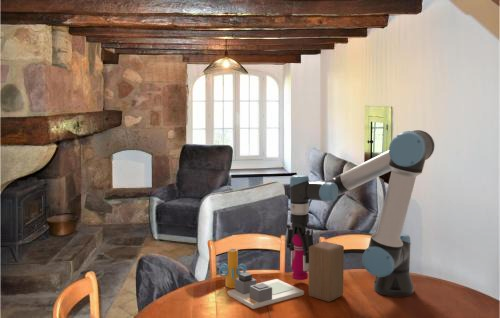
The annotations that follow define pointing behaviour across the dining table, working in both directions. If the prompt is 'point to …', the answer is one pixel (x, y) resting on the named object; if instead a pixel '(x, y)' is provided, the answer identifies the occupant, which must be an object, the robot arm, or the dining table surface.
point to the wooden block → (326, 271)
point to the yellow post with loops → (232, 268)
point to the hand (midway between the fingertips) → (300, 267)
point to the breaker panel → (263, 292)
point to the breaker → (245, 276)
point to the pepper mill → (298, 260)
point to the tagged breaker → (260, 286)
